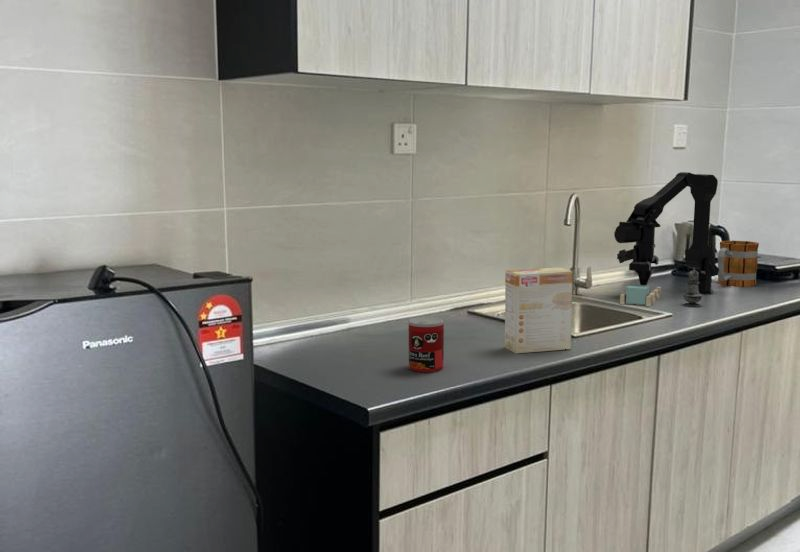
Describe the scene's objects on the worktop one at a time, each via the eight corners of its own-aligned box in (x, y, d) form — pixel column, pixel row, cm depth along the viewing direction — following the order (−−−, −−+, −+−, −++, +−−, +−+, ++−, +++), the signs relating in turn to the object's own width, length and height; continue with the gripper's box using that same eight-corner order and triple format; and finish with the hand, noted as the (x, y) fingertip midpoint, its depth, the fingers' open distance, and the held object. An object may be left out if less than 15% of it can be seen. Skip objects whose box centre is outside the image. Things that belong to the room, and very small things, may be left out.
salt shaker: (699, 303, 247) (701, 266, 245) (704, 307, 241) (706, 269, 240) (680, 303, 248) (681, 266, 246) (684, 307, 242) (686, 268, 240)
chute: (632, 293, 265) (632, 285, 264) (660, 296, 261) (661, 287, 260) (619, 304, 247) (620, 294, 247) (650, 306, 243) (650, 297, 243)
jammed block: (629, 299, 253) (630, 284, 252) (648, 301, 250) (649, 285, 249) (625, 302, 248) (626, 287, 247) (645, 304, 245) (646, 288, 244)
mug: (728, 279, 292) (731, 239, 290) (764, 284, 282) (767, 242, 280) (700, 285, 280) (702, 243, 278) (736, 290, 270) (739, 247, 267)
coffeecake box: (558, 343, 199) (560, 266, 196) (571, 349, 192) (574, 270, 189) (503, 347, 195) (504, 269, 192) (514, 354, 188) (516, 273, 185)
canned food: (402, 369, 175) (401, 321, 174) (421, 361, 182) (421, 315, 180) (431, 375, 171) (431, 325, 169) (449, 366, 178) (450, 319, 176)
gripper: (625, 237, 266) (623, 283, 268) (613, 243, 249) (611, 292, 252) (659, 238, 261) (657, 285, 263) (649, 245, 244) (647, 294, 247)
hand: (643, 289), depth 256 cm, fingers closed
